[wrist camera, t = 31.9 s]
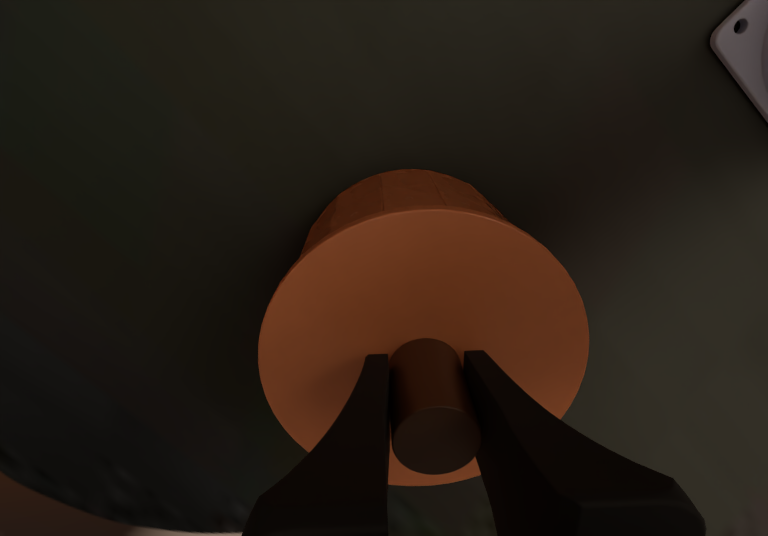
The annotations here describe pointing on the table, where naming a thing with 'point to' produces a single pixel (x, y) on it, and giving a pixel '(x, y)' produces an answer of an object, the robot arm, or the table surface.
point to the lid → (421, 330)
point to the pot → (396, 198)
